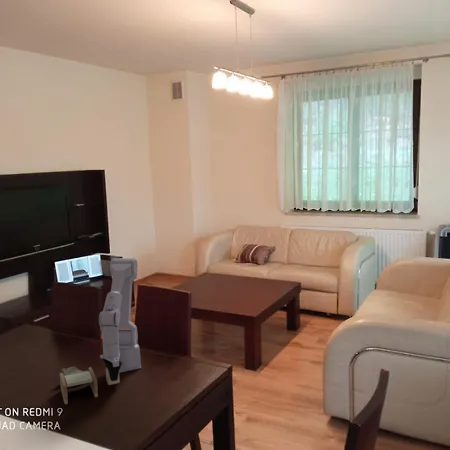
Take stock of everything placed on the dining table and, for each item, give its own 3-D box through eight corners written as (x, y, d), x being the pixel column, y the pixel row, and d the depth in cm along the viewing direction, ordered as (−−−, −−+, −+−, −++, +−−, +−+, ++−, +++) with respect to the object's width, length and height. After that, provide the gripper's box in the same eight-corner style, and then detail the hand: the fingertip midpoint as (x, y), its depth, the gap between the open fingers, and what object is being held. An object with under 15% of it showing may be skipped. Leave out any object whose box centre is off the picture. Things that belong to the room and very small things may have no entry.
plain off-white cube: (117, 378, 172) (116, 365, 171) (119, 382, 168) (119, 369, 168) (106, 380, 170) (105, 367, 169) (108, 385, 167) (107, 371, 166)
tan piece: (92, 383, 172) (91, 367, 171) (98, 396, 162) (96, 379, 161) (60, 390, 167) (59, 373, 166) (64, 404, 157) (63, 386, 157)
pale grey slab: (88, 376, 171) (87, 367, 171) (93, 388, 162) (92, 378, 162) (64, 381, 167) (63, 372, 167) (67, 393, 158) (67, 384, 158)
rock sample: (76, 380, 166) (68, 360, 171) (61, 393, 167) (54, 372, 172) (95, 381, 175) (87, 361, 180) (81, 393, 176) (73, 373, 181)
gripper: (95, 337, 172) (97, 372, 174) (103, 351, 159) (105, 388, 161) (114, 334, 175) (116, 368, 177) (124, 347, 162) (125, 384, 164)
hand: (112, 377), depth 169 cm, fingers closed on plain off-white cube, 4 cm apart
